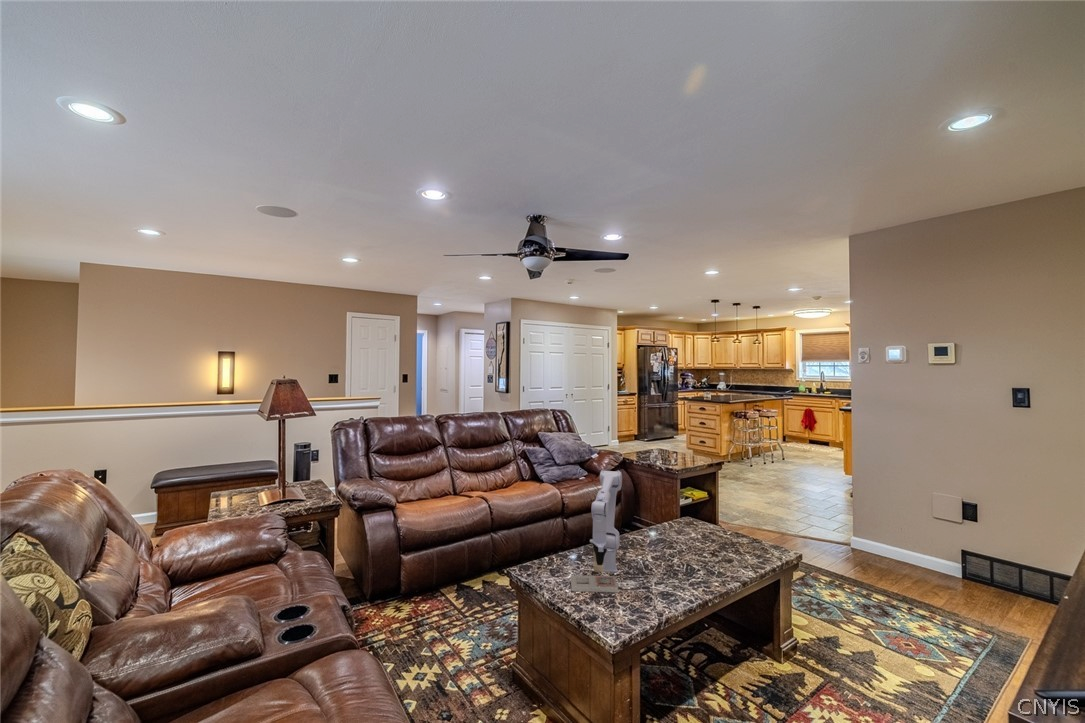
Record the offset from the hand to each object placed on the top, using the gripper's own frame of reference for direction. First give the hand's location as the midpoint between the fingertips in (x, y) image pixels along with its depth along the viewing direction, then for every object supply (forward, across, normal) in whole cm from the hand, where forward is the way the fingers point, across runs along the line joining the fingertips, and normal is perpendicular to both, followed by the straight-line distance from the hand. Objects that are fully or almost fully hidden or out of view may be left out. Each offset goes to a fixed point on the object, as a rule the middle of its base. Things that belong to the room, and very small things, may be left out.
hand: (599, 562), depth 189 cm
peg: (+3, 0, 0) cm, 3 cm away
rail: (+10, 0, -2) cm, 10 cm away
